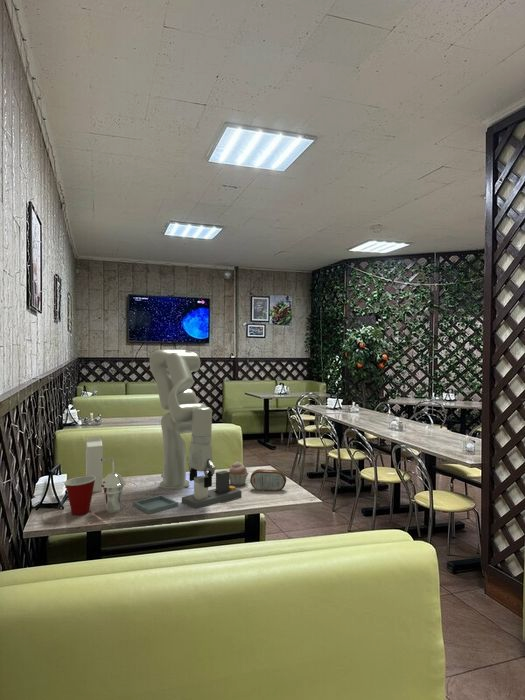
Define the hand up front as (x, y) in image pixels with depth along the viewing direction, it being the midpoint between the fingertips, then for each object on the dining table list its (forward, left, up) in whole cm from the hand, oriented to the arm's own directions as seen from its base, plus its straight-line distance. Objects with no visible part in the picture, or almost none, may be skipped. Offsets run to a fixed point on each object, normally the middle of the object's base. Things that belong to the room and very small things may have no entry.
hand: (200, 483), depth 172 cm
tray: (-7, -15, -7) cm, 18 cm away
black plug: (+1, +10, -7) cm, 12 cm away
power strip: (+1, +5, -7) cm, 9 cm away
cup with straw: (-13, -29, -8) cm, 33 cm away
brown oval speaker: (+6, +30, -8) cm, 31 cm away
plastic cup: (-20, -38, -8) cm, 44 cm away
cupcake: (-9, +26, -8) cm, 28 cm away
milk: (-42, -24, -8) cm, 49 cm away
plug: (+1, 0, -7) cm, 7 cm away
